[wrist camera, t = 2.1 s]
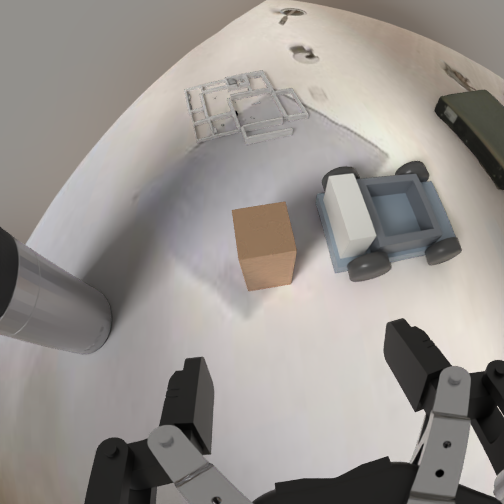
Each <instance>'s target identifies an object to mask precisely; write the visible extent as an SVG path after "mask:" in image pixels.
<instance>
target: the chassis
mask: <svg viewBox="0 0 504 504" xmlns="http://www.w3.org/2000/svg"><path fill="white" fill-rule="evenodd" d="M428 178H429V173H428V171H427V169H426V167H425V165H424V164H423V163H422V162H420V161H412V162H409V163H407V164H405V165H403V166H401V167H400V168H399V169H398V170H397V171H396V173H395V176H384V177H373V178H364V179H360V177H359V174H358V172H357V170H356V169H354V168H352V167H339V168H336V169H333V170H331V171H330V172H328V173H327V174H326V175H325V176H324V177H323V179H322V185H323V188H324V191H325V193H321V194H317V198H316V205H317V209H318V212H319V216H320V219H321V223H322V226H323V230H324V233H325V237H326V241H327V244H328V248H329V252H330V256H331V260H332V264H333V268H334V272H335V273H340V272H345V271H348V273H349V277H350V280H351V281H353V282H359V281H365V280H369V279H373V278H376V277H378V276H381V275H383V274H385V273H387V272H388V271H389V270H390V269H391V264H390V262H395V261H400V260H405V259H409V258H414V257H419V256H423V255H426V258H427V261H428V264H429V265H436V264H440V263H443V262H445V261H448V260H450V259H452V258H454V257H455V256H457V255H458V254H459V253H460V252H461V251H462V249H461V246H460V244H459V241H458V238H457V237H456V236H455V234H454V231H453V229H452V226H451V224H450V221H449V219H448V216H447V214H446V212H445V209H444V207H443V205H442V203H441V200H440V198H439V196H438V194H437V192H436V190H435V188H434V186H433V183H432V181H430V182H426V181H427V180H428Z"/></svg>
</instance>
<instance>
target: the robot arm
mask: <svg viewBox="0 0 504 504" xmlns="http://www.w3.org/2000/svg"><path fill="white" fill-rule="evenodd" d="M111 320H112V315H111V309H110V306H109V303H108V301H107V299H106V298H105V296H104V295H103V294H102V293H101V292H100V291H98V290H96V289H95V288H93V287H91V286H90V285H88V284H86V283H85V282H83V281H81V280H80V279H78V278H76V277H75V276H73V275H71V274H70V273H68V272H66V271H65V270H63V269H62V268H60V267H58V266H57V265H55V264H54V263H52V262H50V261H49V260H47V259H46V258H44V257H43V256H41V255H40V254H38V253H37V252H35V251H34V250H32V249H31V248H29V247H27V246H26V245H25V244H23V243H22V242H20V241H19V240H17V239H16V238H15V237H13V236H12V235H10V234H9V233H8V232H6V231H5V230H3V229H2V228H1V227H0V335H4V336H7V337H11V338H14V339H18V340H22V341H25V342H29V343H33V344H37V345H41V346H45V347H50V348H54V349H59V350H63V351H68V352H73V353H78V354H90V353H92V352H95V351H96V350H98V349H99V348H100V347H101V346H102V345H103V344H104V342H105V341H106V339H107V337H108V335H109V332H110V328H111ZM384 357H385V360H386V362H387V364H388V365H389V367H390V369H391V370H392V372H393V374H394V376H395V377H396V379H397V381H398V383H399V384H400V386H401V388H402V390H403V391H404V393H405V395H406V397H407V399H408V400H409V402H410V404H411V406H412V408H413V409H414V411H415V412H417V411H420V410H422V409H424V410H425V412H426V414H425V417H424V420H423V424H422V427H421V431H420V434H419V438H418V441H417V444H416V447H415V450H414V453H413V455H412V458H411V460H410V462H409V463H407V462H390V459H389V457H388V456H387V457H384V458H381V459H378V460H375V461H372V462H368V463H365V464H362V465H360V466H358V467H356V468H354V469H353V470H351V471H349V472H347V473H345V474H343V475H341V476H339V477H336V478H303V479H297V480H291V481H285V482H278V483H275V490H272V491H269V492H267V493H265V494H263V495H262V496H260V497H258V498H257V499H255V500H254V501H253V502H251V501H250V500H249V499H248V498H247V497H245V496H244V495H243V494H242V493H241V492H240V491H239V490H238V489H237V488H236V487H235V486H234V485H233V484H232V483H231V482H230V481H229V480H228V479H227V478H226V477H225V476H224V475H223V474H222V473H221V472H220V471H219V470H218V469H217V468H216V467H215V466H214V465H213V464H211V463H209V462H208V461H207V460H206V459H205V458H204V457H203V455H209V454H211V443H212V424H213V406H214V386H213V382H212V379H211V376H210V373H209V370H208V368H207V365H206V362H205V359H204V357H195V358H186V359H185V363H184V368H183V370H182V371H175V373H174V374H173V375H172V377H171V378H170V379H169V383H168V388H167V390H168V391H167V392H166V398H165V401H164V406H163V411H162V415H161V420H160V425H159V427H158V428H156V429H154V430H153V431H152V432H151V433H150V435H149V437H148V438H147V439H145V440H142V441H138V442H133V443H129V444H127V443H126V442H125V441H124V440H122V439H120V438H109V439H106V440H104V441H103V442H102V443H101V444H100V445H99V446H98V448H97V451H96V455H95V459H94V463H93V467H92V471H91V475H90V479H89V484H88V488H87V493H86V498H85V503H84V504H156V493H157V486H162V485H166V484H170V483H174V484H175V486H176V488H177V489H178V491H179V492H180V493H181V494H182V496H183V497H184V498H185V499H186V501H187V502H188V503H189V504H504V417H503V415H504V361H502V360H494V361H492V362H490V363H489V364H488V365H487V368H486V370H485V371H482V372H476V373H468V372H467V371H466V370H465V369H464V368H462V367H458V366H452V365H451V364H450V363H449V361H448V360H447V359H446V358H445V356H444V355H443V354H442V353H441V351H440V350H439V349H438V348H437V346H435V344H434V343H433V341H432V340H430V338H429V336H428V335H427V334H426V333H425V332H424V331H423V330H421V329H419V328H418V327H416V326H414V327H411V326H410V325H409V324H408V323H407V321H406V320H405V319H403V318H402V319H398V320H395V321H391V322H388V323H387V325H386V333H385V341H384ZM497 406H498V407H499V409H500V410H501V412H502V413H503V415H502V414H501V412H500V411H499V409H498V407H497ZM470 423H471V425H472V427H473V429H474V431H475V433H476V434H477V436H478V438H479V440H480V442H481V444H482V446H483V448H484V450H485V452H486V454H487V456H488V458H489V460H490V462H491V464H492V466H493V468H494V471H495V473H496V475H497V477H496V479H495V482H494V491H493V493H494V495H495V497H492V496H489V495H486V494H484V493H481V492H478V491H476V490H473V489H471V488H468V487H466V486H463V485H461V484H459V480H460V476H461V472H462V468H463V463H464V458H465V453H466V448H467V443H468V437H469V430H470Z"/></svg>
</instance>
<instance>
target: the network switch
mask: <svg viewBox="0 0 504 504" xmlns="http://www.w3.org/2000/svg"><path fill="white" fill-rule="evenodd" d="M435 112H436V114H437V115H438V116H439V117H440V118H441V119H442V120H443V121H444V122H445V123H446V124H448V125H449V127H450V128H451V129H452V130H453V131H454V132H455V133H456V134H457V135H458V136H459V137H460V139H461V140H462V141H463V142H464V143H465V144H466V145H467V146H468V147H469V149H470V150H471V151H472V152H473V153H474V154H475V156H476V157H477V158H478V159H479V162H480V164H481V165H482V167H483V168H484V169H485V170H486V172H487V173H488V174H489V175H490V177H491V178H492V180H493V181H494V183H495V184H496V187H497V189H502V190H504V107H503V105H502V104H501V103H500V102H499V101H498V100H497V99H495V97H494V96H492V95H491V94H490V93H489V92H488V91H487V90H478V91H471V92H464V93H456V94H450V95H447V96H441V97H440V98H439V101H438V103H437V104H436V107H435Z"/></svg>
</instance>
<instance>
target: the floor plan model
mask: <svg viewBox="0 0 504 504" xmlns="http://www.w3.org/2000/svg"><path fill="white" fill-rule="evenodd" d="M260 76H261V78H262V80H263V81H264V83H265V85H266V87H267V88H263V89H257V90H252V89H251V87H250V82H249V80H248V79H249V78H259V77H260ZM238 80H240V81H241V82H243V80H244V82H243V83H239V84H240V86H238V85H237V83H236V81H238ZM221 83H226V85H224V86H220V87H216V88H212V89H208V90H204V91H203V88H204V87H208V86H212V85H216V84H221ZM231 84H233V85H231ZM200 88H201V91H202V93H201V94H199V96H200V100H201V104H202V107H201V108H197V109H193V110H192V106H191V104H189V101H190V94H188V96H187V92H189V91H193V90H196V89H200ZM244 88H248V91H246V92H241V93H236V94H231V100H232V101H233V100H238V99H240V100H241V99H242V98H248V97H252V96H257V95H262V94H267V93H270V94H271V95H272V98H273V99H274V101H275V103H276V105H277V107H278V109H279V110H280V112H281V114H282V116H283V117H279V118H274V119H269V120H264V121H259V122H255V123H254V122H253V123H250V124H246V125H243V126H242V127H240V124H239V123H240V121H238V119H237V115H238V113H237V111H234V108H233V105H232V103H231V100H230V98H227V101H228V105H229V108H230V110H231V111H230V112H226V113H222V114H218V115H214V116H210V117H208V113H207V109H206V106H205V102H204V98H203V95H202V94H203V93H204V95H205V94H208V93H212V92H217V91H221V90H225V89H227V90H228V92H230V91H234V90H239V89H244ZM184 91H185V96H186V102H187V107H188V113H189V115H191V117H192V114H194V113H197V112H201V111H204V114H205V118H206V119H202V120H199V121H195V122H193V117H192V122H193V127H194V126H197V125H201V124H205V123H208V122H209V125H210V129H211V133H212V136H209V137H205V138H202V139H198V140H197V136H196V131H195V127H194V131H195V136H196V141H197V143H200V142H204V141H207V140H211V139H215V138H218V137H222V136H226V135H230V134H234V133H238V132H242V135H243V138H244V141H245V144H246V145H249V144H253V143H258V142H262V141H267V140H271V139H276V138H281V137H286V136H291V135H292V132H293V129H292V128H288V129H283V130H278V131H273V132H268V133H263V134H259V135H258V134H256V135H253V136H252V135H249V136H250V137H247V135H246V133H245V132H248V131H253V130H257V129H262V128H266V127H271V126H276V125H281V124H283V118H284V120H288V121H289V122H290V121H296V120H302V119H308V118H309V114H308V112H307V111H306V109H305V107H304V106H303V104H302V103H301V101H300V100H299V98H298V96H297V95H296V93H295V92H294V90H293V89H292V88H289V89H282V90H276V91H274V89H273V87H272V85H271V84H270V82H269V80H268V79H267V77H266V75H265V74H264V72H263V70H260V71H255V72H250V73H244V74H239V75H234V76H230V77H225V79H224V80H219V81H215V82H211V83H207V84H203V85H199V86H195V87H192V88H188V89H184ZM289 93H291V94H292V96H293V98H294V99H295V101H296V102H297V104H298V106H299V107H300V109H301V111H302V112H303V113H299V114H293V115H288V116H287V114H286V112H285V110H284V108H283V107H282V105H281V103H280V101H279V99H278V98H277V95H283V94H289ZM212 98H213V97H212ZM188 99H189V101H188ZM214 99H215V98H214ZM235 103H236V102H235ZM255 104H260V101H259V102H258V103H254V104H252V105H255ZM189 105H190V106H189ZM229 117H233V119H234V121H235V124H236V127H237V130H233V131H228V132H224V133H220V134H218V133H217V129H216V128H215V127H213V128H212V126H213V124H212V125H211V122H213V121H216V120H220V119H224V118H229ZM250 118H252V117H250ZM254 119H255V118H254ZM222 125H223V126H224V124H222ZM222 125H221V126H222ZM213 130H214V132H213ZM214 133H215V135H214Z"/></svg>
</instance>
